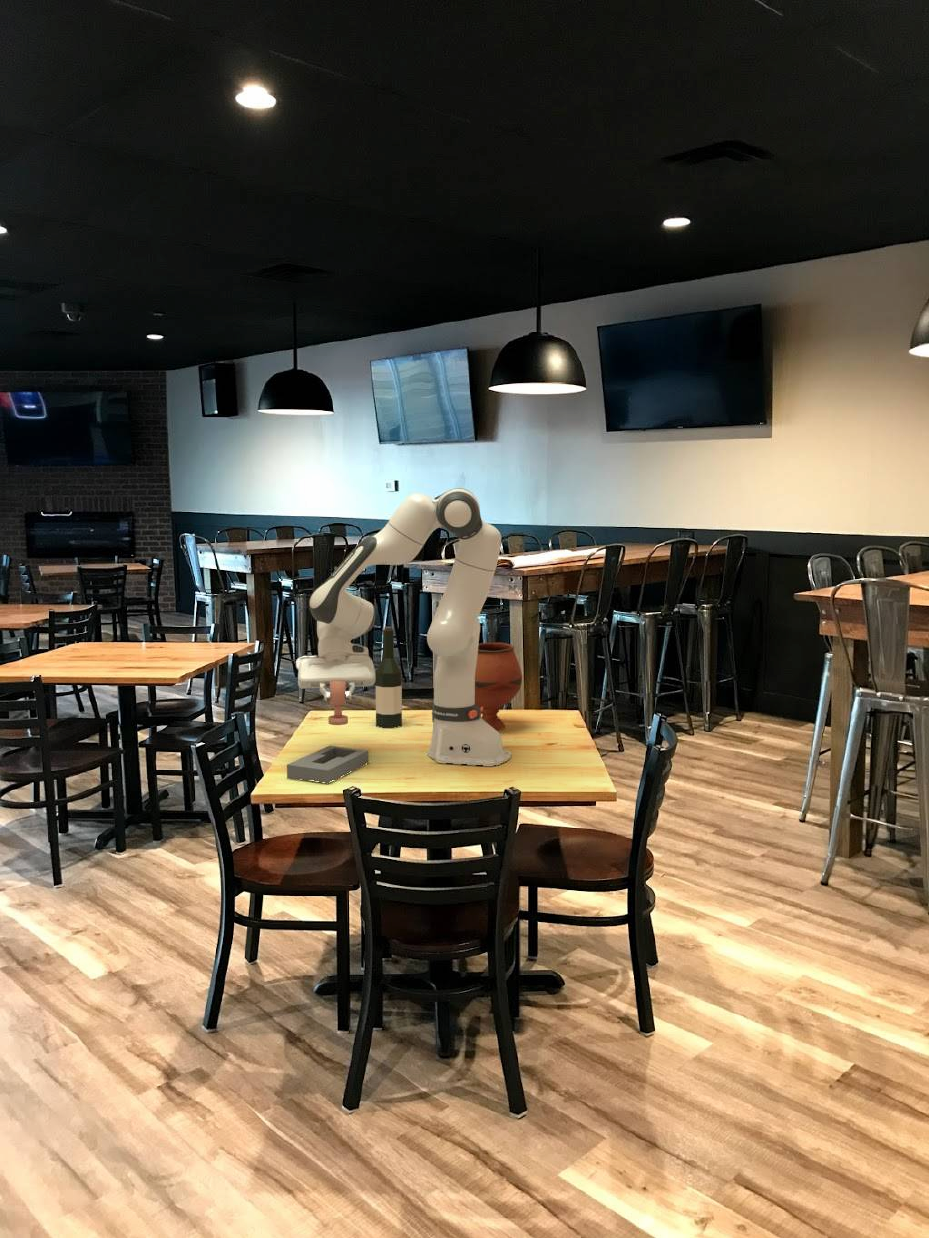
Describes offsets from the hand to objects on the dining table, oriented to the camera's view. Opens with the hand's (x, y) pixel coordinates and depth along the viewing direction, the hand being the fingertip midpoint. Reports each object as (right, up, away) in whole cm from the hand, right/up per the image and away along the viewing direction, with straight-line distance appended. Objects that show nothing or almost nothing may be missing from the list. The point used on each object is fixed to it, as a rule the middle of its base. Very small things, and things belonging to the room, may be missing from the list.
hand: (338, 699), depth 260 cm
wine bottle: (+10, -12, +47) cm, 49 cm away
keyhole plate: (-2, -18, -1) cm, 18 cm away
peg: (0, -6, +2) cm, 6 cm away
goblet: (+40, -12, +44) cm, 61 cm away
